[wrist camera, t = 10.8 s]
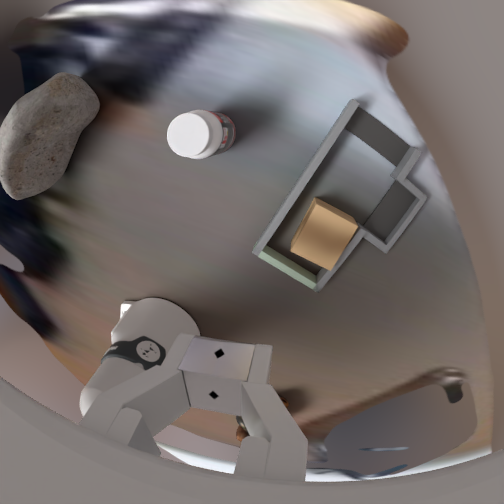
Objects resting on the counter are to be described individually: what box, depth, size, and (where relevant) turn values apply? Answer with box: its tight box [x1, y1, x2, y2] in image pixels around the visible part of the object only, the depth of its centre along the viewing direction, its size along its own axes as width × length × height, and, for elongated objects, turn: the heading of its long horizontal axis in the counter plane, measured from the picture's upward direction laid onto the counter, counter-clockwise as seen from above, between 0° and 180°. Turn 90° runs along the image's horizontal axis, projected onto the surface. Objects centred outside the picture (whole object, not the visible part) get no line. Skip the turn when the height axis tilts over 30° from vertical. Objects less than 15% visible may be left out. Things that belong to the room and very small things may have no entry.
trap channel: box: [252, 99, 428, 292], centre depth 36 cm, size 24×16×2 cm, turn 150°
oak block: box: [290, 197, 358, 271], centre depth 37 cm, size 7×6×4 cm
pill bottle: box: [167, 110, 236, 159], centre depth 31 cm, size 6×6×10 cm
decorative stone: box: [0, 73, 100, 200], centre depth 30 cm, size 17×20×10 cm
